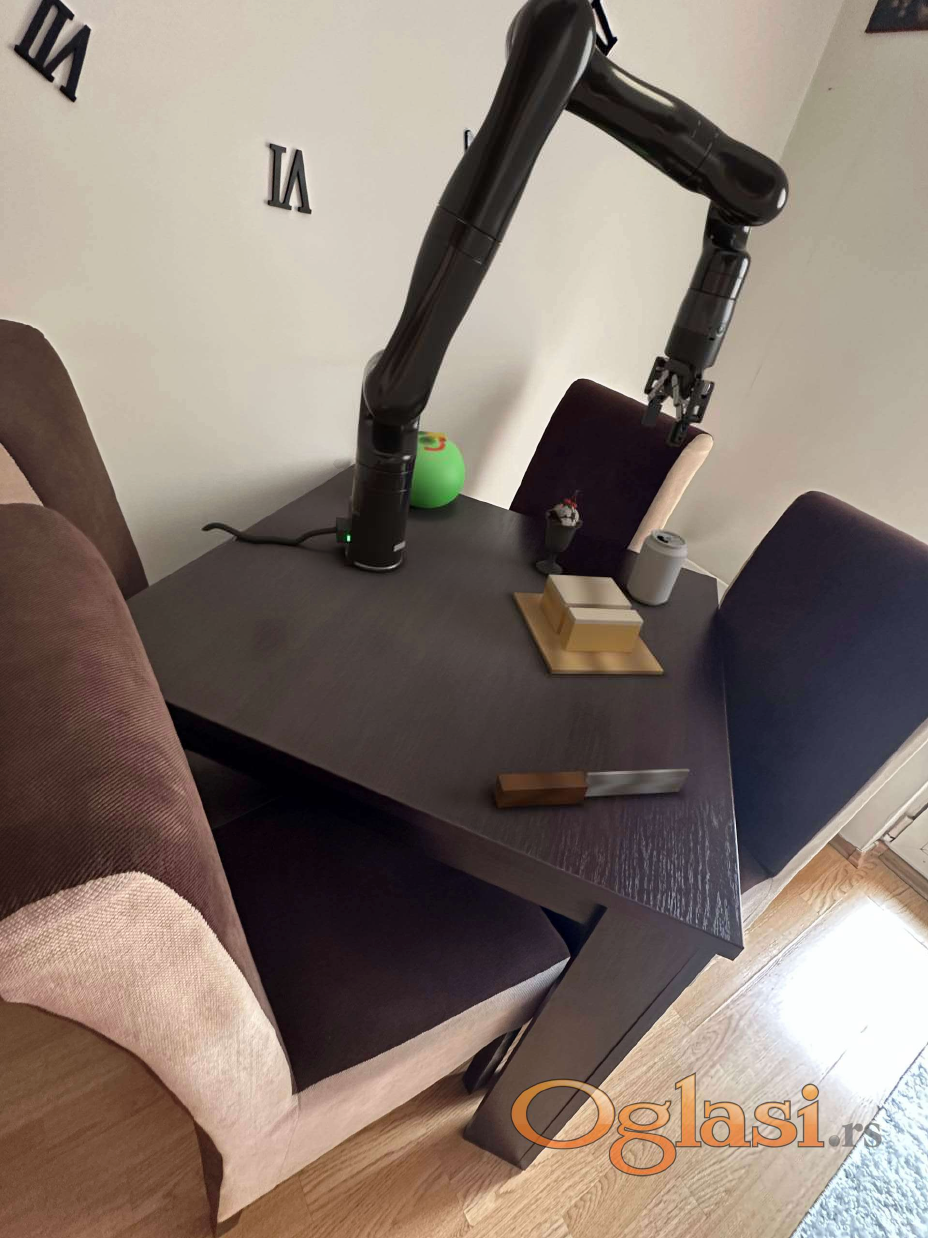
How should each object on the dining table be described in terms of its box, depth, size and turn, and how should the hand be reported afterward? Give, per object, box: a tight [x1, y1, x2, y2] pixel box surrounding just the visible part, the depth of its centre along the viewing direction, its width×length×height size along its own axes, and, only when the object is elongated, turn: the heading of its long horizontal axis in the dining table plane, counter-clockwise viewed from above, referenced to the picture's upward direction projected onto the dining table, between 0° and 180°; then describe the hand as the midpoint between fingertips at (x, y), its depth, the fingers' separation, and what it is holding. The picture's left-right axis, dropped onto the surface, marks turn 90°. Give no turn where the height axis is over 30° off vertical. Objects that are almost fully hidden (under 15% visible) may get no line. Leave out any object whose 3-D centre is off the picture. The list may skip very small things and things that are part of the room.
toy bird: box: [409, 430, 466, 509], centre depth 128 cm, size 18×17×15 cm
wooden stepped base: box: [512, 574, 664, 676], centre depth 100 cm, size 18×20×7 cm
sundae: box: [535, 489, 583, 576], centre depth 114 cm, size 7×7×15 cm
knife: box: [492, 768, 690, 809], centre depth 73 cm, size 23×2×4 cm, turn 103°
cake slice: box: [558, 607, 644, 652], centre depth 97 cm, size 11×3×6 cm, turn 102°
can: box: [626, 528, 688, 606], centre depth 113 cm, size 8×8×12 cm
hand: (659, 435), depth 103 cm, fingers open, 8 cm apart
